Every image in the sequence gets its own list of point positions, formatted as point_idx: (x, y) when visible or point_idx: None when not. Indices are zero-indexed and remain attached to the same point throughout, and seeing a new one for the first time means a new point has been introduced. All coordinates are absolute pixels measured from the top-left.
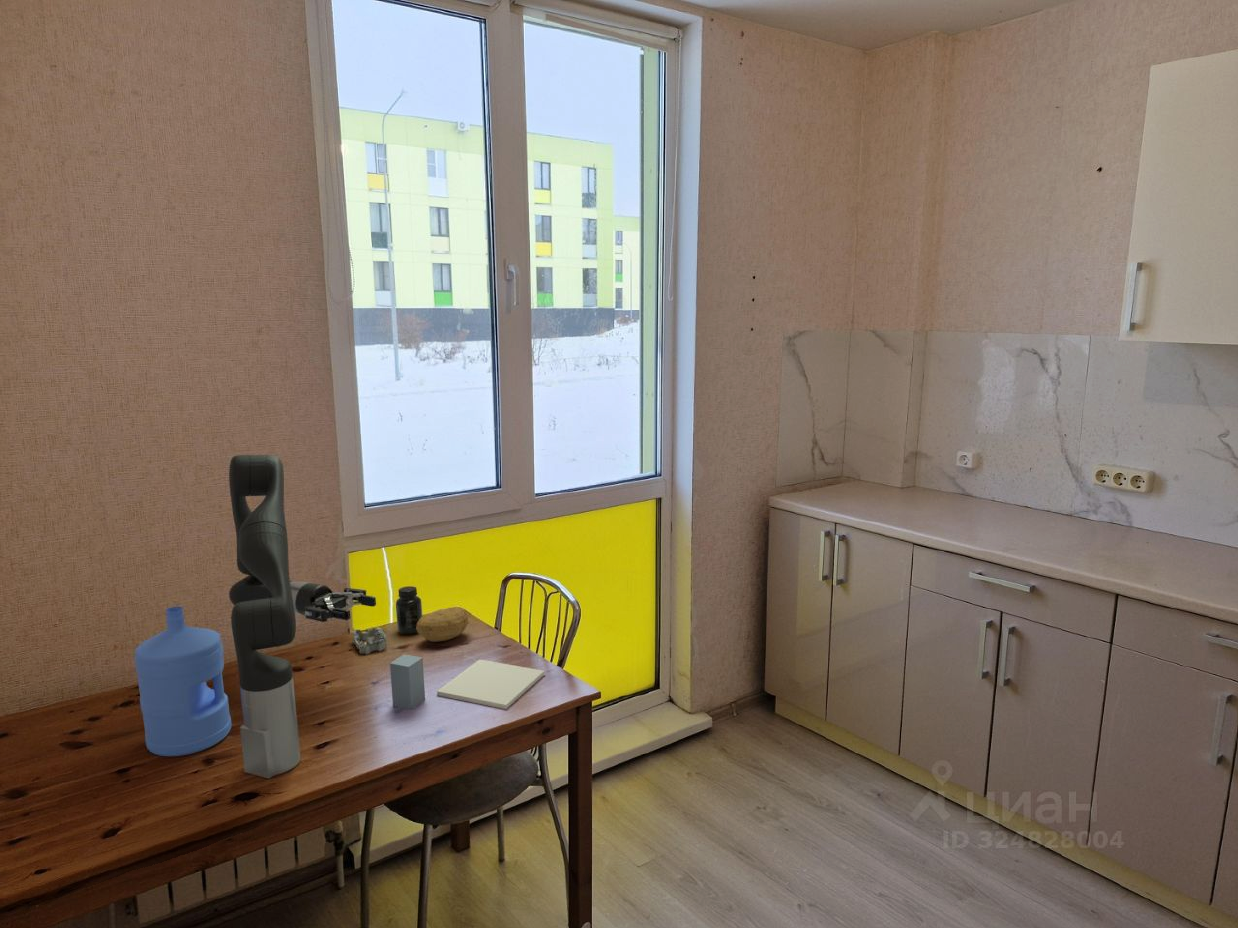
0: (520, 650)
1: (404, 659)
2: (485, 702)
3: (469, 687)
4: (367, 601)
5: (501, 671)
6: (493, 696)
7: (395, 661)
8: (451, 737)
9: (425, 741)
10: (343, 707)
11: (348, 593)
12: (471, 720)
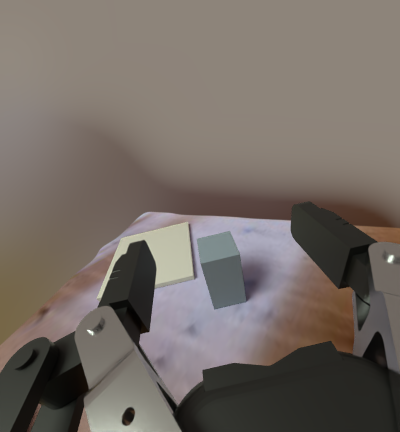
0: (62, 288)
1: (215, 249)
2: (189, 234)
3: (171, 257)
4: (147, 277)
5: None
6: (179, 234)
7: (229, 253)
8: (247, 221)
9: (267, 227)
10: None
11: (138, 376)
12: (217, 228)
